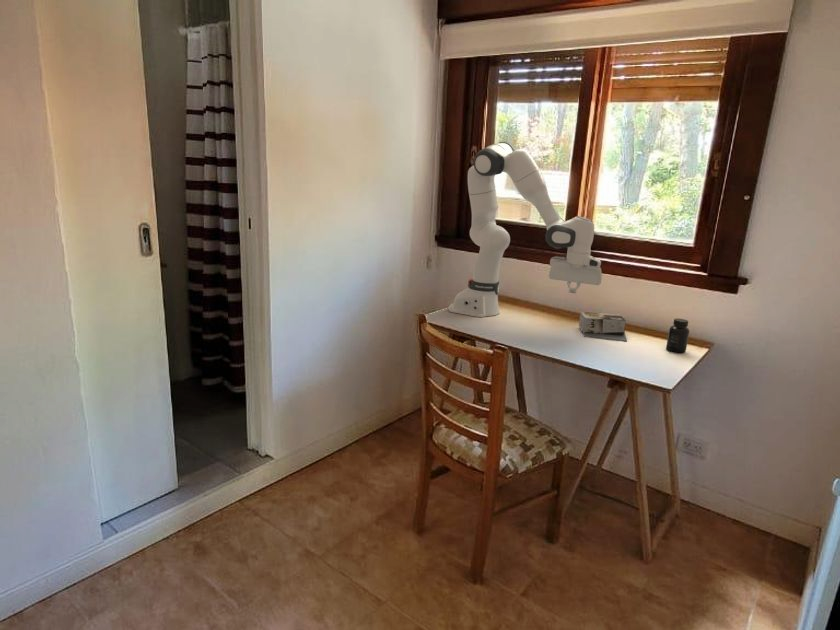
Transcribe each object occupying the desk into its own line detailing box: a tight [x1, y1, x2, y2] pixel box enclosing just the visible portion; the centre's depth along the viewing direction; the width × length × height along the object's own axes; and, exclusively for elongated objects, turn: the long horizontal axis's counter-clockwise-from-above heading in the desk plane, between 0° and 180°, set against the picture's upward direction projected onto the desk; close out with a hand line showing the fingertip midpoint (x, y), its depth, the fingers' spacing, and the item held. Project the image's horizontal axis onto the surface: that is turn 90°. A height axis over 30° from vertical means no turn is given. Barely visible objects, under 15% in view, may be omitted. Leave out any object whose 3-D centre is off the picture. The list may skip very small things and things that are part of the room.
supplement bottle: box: [665, 318, 690, 355], centre depth 203 cm, size 7×7×12 cm
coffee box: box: [578, 311, 627, 335], centre depth 222 cm, size 9×6×16 cm
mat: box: [583, 331, 628, 343], centre depth 220 cm, size 16×13×1 cm
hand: (572, 292), depth 220 cm, fingers closed
